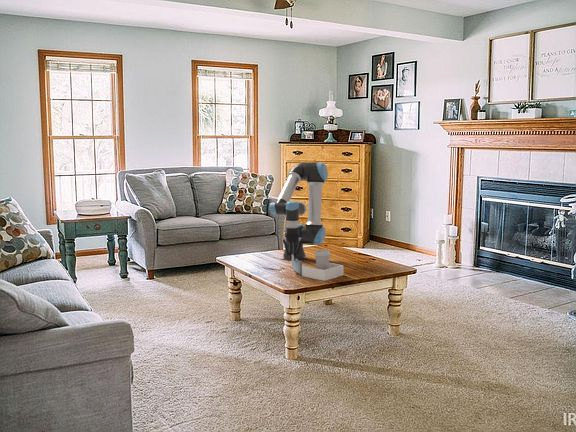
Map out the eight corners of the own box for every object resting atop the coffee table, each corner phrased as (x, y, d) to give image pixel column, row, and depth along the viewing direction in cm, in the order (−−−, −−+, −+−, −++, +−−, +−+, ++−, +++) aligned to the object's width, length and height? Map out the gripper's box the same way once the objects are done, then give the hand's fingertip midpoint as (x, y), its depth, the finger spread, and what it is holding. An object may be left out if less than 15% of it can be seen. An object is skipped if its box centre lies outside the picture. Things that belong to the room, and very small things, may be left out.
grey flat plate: (301, 274, 338) (301, 262, 337) (299, 274, 338) (299, 262, 337) (294, 269, 350) (294, 257, 349) (292, 269, 350) (292, 257, 349)
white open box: (299, 275, 337) (299, 260, 335) (318, 270, 349) (318, 255, 348) (324, 280, 323) (324, 265, 322) (343, 275, 336) (343, 260, 335)
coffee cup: (313, 273, 340) (313, 249, 338) (329, 273, 341) (329, 248, 339) (315, 277, 331) (315, 252, 328) (332, 277, 331) (332, 252, 329)
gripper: (283, 228, 335) (283, 267, 338) (304, 227, 338) (304, 266, 341) (280, 226, 343) (280, 265, 346) (301, 225, 345) (301, 264, 349)
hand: (292, 265), depth 343 cm, fingers closed
